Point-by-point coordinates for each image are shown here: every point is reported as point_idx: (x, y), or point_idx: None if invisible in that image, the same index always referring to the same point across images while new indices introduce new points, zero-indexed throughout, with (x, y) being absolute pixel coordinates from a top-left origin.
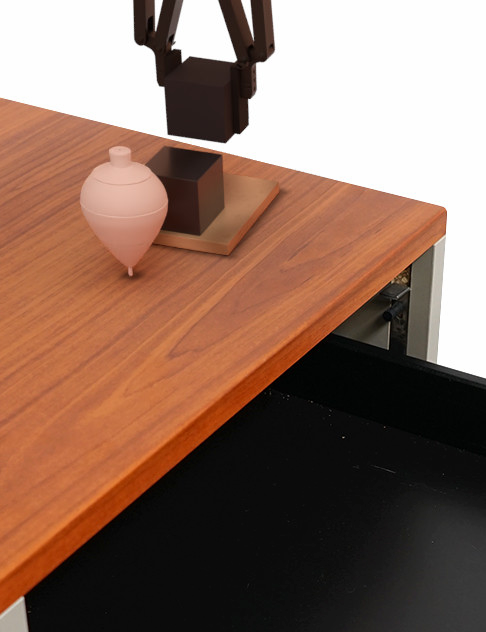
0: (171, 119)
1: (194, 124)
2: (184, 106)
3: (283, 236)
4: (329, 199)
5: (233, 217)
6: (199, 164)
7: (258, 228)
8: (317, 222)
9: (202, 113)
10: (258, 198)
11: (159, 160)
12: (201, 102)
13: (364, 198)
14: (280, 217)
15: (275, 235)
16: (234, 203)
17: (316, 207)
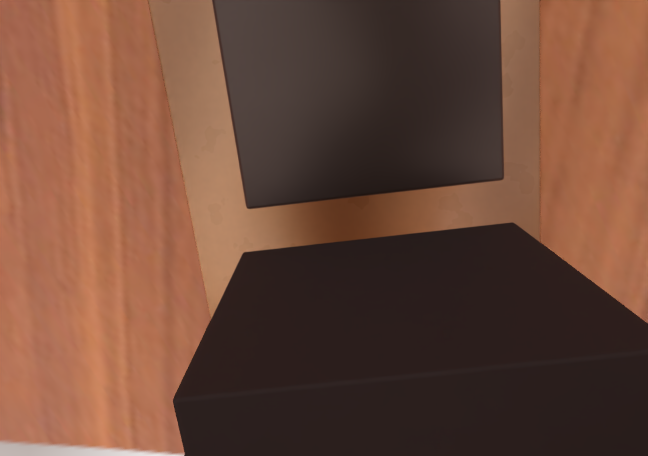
0: (515, 246)
1: (389, 256)
2: (458, 284)
3: (83, 139)
4: (102, 392)
5: (215, 120)
6: (276, 59)
7: (167, 154)
8: (54, 260)
9: (348, 288)
10: (218, 271)
11: (455, 13)
12: (352, 313)
13: (33, 432)
14: (152, 244)
15: (105, 135)
16: (261, 211)
17: (104, 338)
